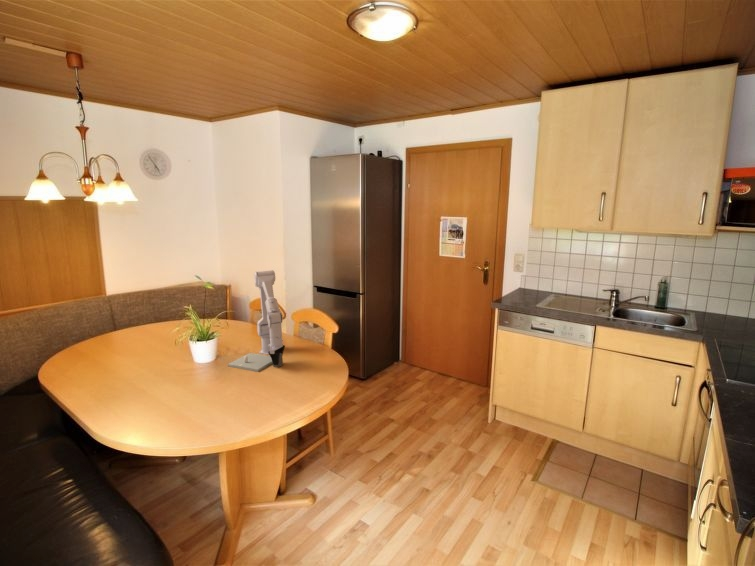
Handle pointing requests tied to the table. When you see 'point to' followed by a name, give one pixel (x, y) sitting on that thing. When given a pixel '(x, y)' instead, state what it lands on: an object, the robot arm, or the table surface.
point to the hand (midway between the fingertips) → (277, 362)
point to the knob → (279, 361)
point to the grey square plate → (252, 362)
